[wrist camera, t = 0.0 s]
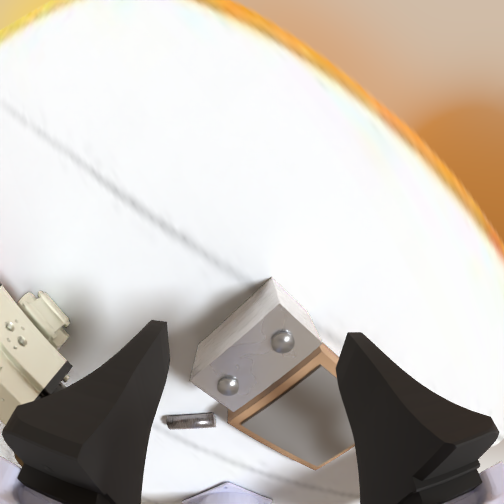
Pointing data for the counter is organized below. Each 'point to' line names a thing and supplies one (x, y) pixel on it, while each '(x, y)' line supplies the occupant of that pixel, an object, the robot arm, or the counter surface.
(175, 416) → the bolt
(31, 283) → the counter surface
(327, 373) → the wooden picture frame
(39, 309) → the pneumatic valve
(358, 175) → the counter surface
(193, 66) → the counter surface
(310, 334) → the block
